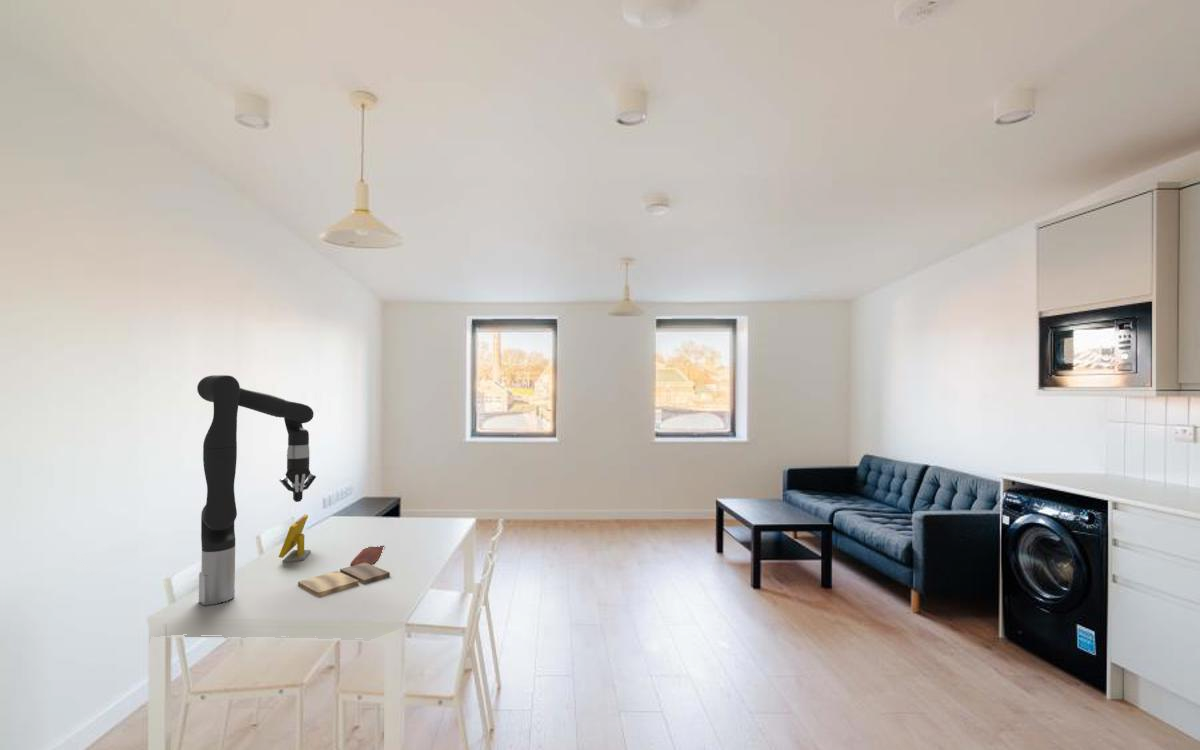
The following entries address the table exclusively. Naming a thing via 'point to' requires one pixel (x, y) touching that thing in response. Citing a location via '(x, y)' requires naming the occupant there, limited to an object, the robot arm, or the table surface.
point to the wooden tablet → (368, 556)
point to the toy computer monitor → (295, 542)
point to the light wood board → (327, 583)
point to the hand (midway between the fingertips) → (297, 501)
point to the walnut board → (365, 573)
